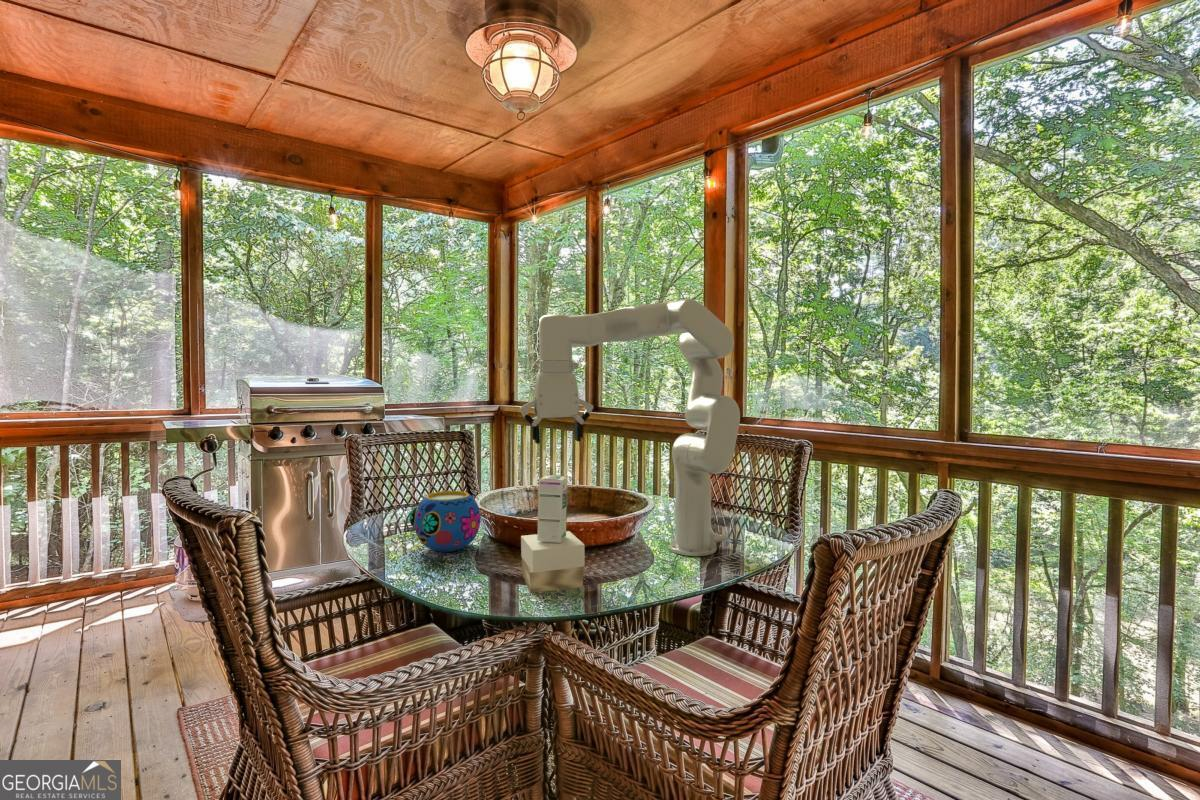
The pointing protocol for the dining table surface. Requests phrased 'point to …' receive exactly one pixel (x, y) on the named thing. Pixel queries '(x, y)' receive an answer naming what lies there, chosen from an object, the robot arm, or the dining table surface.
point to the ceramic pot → (446, 520)
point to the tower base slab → (552, 579)
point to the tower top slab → (552, 553)
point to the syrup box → (552, 509)
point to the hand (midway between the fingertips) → (557, 441)
